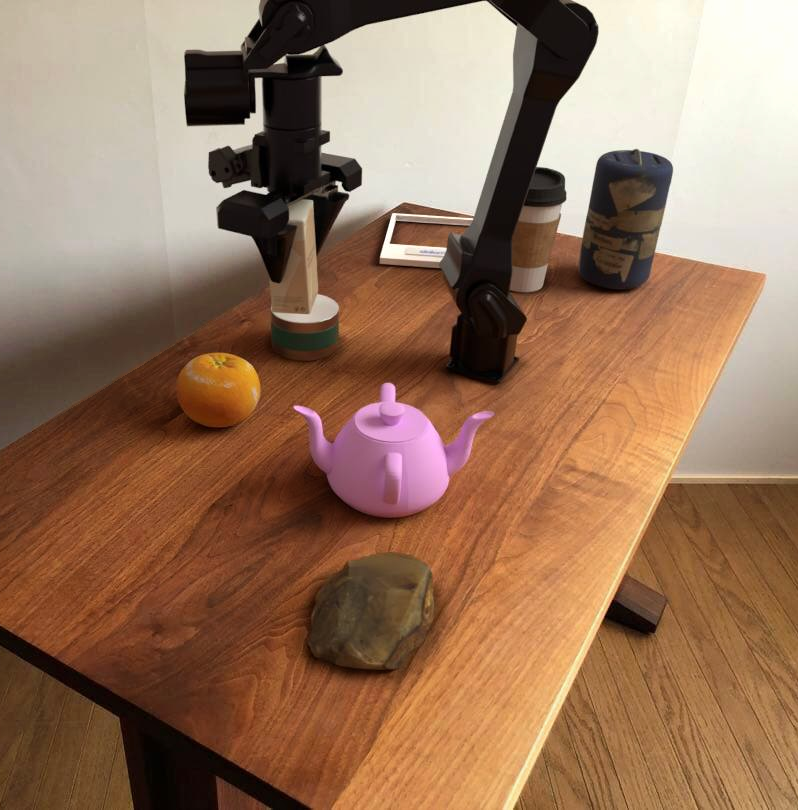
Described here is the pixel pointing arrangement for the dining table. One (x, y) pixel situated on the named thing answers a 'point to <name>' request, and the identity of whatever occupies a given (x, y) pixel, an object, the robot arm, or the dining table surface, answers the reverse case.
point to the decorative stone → (373, 612)
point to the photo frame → (416, 254)
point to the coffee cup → (537, 230)
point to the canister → (624, 218)
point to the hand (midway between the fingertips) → (294, 270)
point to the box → (298, 265)
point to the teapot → (389, 456)
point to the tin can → (307, 331)
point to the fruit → (218, 389)
